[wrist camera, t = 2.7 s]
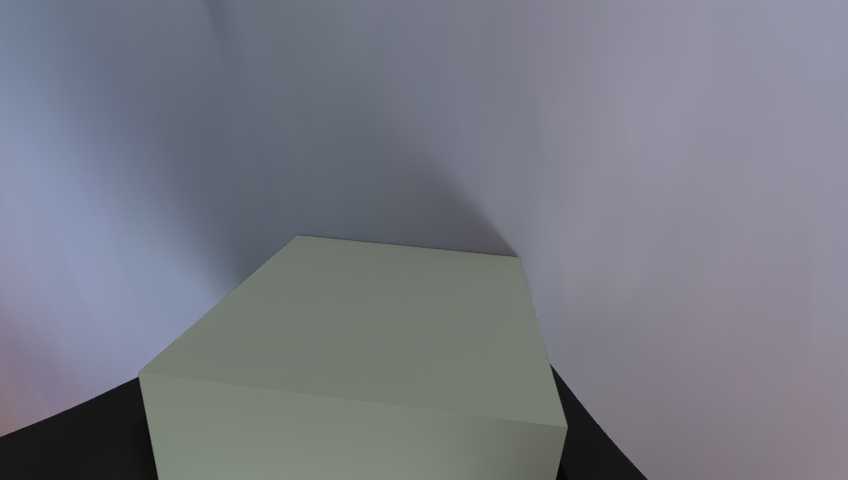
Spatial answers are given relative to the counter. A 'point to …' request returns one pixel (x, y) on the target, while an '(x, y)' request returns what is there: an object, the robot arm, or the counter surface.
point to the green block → (360, 372)
